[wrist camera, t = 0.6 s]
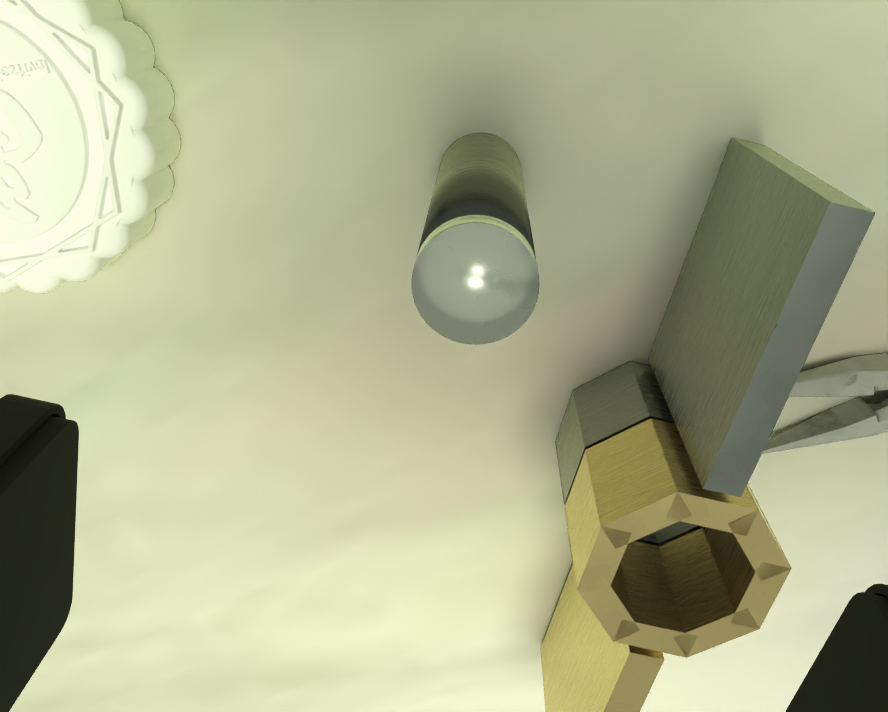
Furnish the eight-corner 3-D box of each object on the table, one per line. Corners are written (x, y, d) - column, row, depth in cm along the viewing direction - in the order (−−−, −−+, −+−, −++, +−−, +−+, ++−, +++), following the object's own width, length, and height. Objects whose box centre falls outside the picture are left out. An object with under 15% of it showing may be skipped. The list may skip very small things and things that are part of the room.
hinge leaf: (735, 388, 33) (816, 522, 25) (614, 664, 39) (647, 841, 31) (586, 354, 32) (619, 478, 24) (490, 637, 39) (490, 809, 31)
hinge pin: (530, 143, 29) (554, 241, 18) (509, 222, 31) (519, 356, 20) (449, 124, 29) (426, 210, 18) (431, 203, 30) (399, 328, 20)
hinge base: (830, 162, 29) (967, 235, 21) (680, 507, 36) (738, 668, 27) (664, 120, 29) (736, 178, 20) (543, 476, 35) (559, 630, 27)
